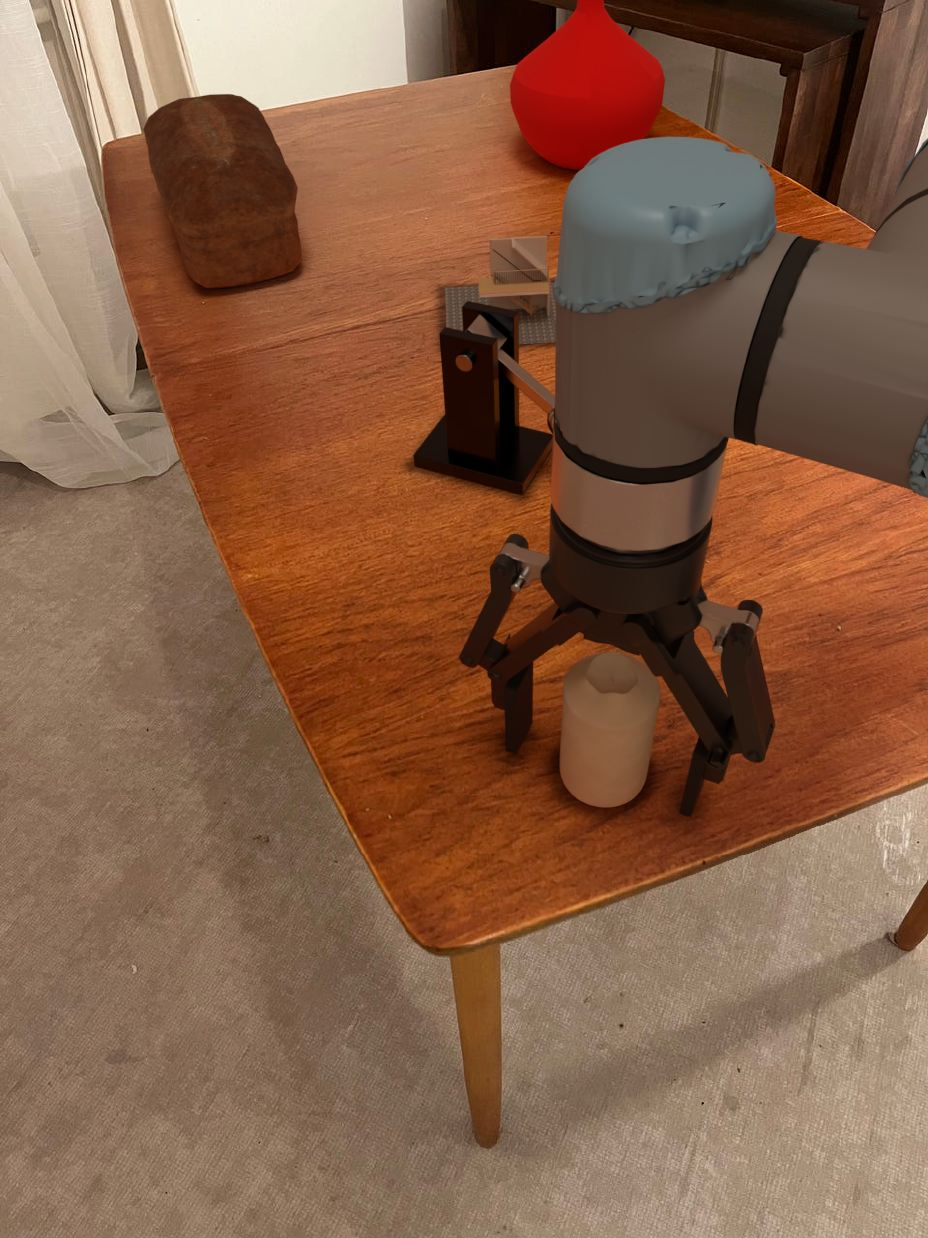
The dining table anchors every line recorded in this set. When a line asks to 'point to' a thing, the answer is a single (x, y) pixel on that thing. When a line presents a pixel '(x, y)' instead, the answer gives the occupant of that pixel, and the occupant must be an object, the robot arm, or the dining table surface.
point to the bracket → (482, 409)
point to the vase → (586, 89)
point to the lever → (517, 371)
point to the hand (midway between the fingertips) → (602, 766)
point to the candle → (607, 727)
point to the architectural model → (513, 288)
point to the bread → (224, 189)
